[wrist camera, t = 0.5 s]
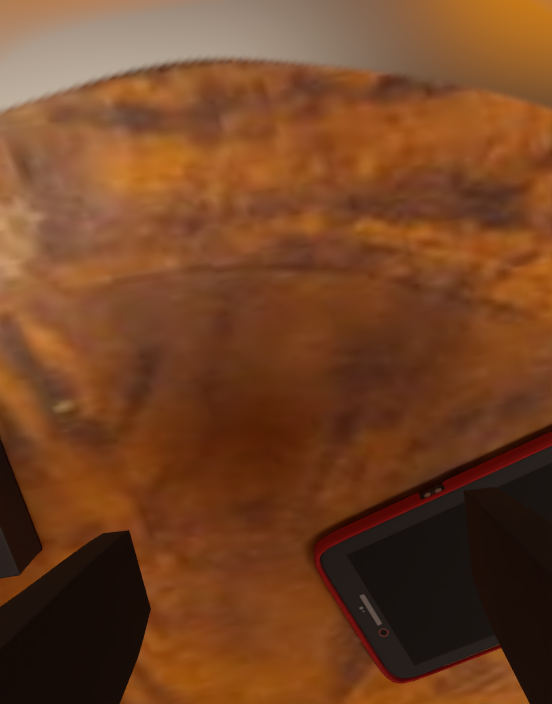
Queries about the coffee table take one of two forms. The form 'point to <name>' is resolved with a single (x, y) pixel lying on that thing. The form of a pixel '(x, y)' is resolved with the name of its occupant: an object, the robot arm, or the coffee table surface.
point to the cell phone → (426, 567)
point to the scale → (14, 525)
